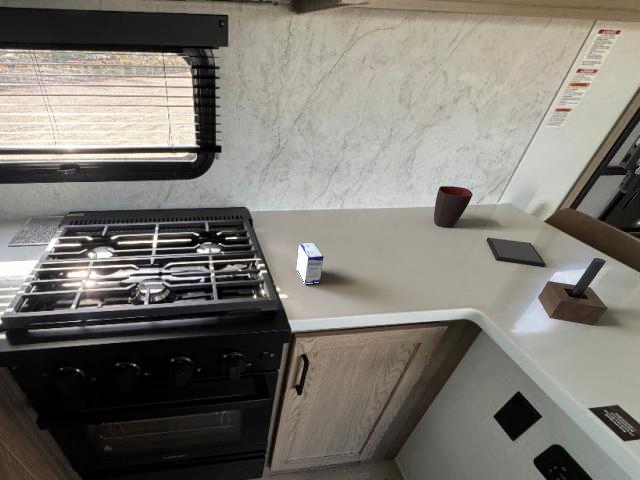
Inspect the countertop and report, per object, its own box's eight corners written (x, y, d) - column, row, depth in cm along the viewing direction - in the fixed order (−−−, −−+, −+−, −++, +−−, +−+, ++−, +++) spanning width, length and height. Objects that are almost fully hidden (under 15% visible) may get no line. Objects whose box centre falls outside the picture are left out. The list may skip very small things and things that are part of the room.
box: (320, 283, 93) (324, 256, 88) (304, 285, 92) (307, 257, 87) (311, 268, 99) (314, 242, 94) (295, 270, 98) (298, 243, 93)
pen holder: (578, 304, 85) (590, 287, 82) (594, 325, 78) (608, 308, 75) (537, 297, 87) (547, 280, 84) (549, 317, 81) (560, 300, 78)
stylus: (567, 309, 83) (603, 258, 75) (570, 314, 82) (608, 263, 73) (557, 307, 84) (592, 257, 75) (560, 312, 82) (596, 261, 74)
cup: (430, 228, 120) (442, 194, 113) (424, 213, 131) (434, 181, 123) (462, 231, 118) (476, 197, 111) (452, 215, 129) (464, 183, 121)
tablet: (529, 245, 109) (530, 242, 109) (543, 267, 99) (545, 263, 98) (486, 240, 113) (487, 237, 112) (495, 260, 102) (497, 257, 101)
